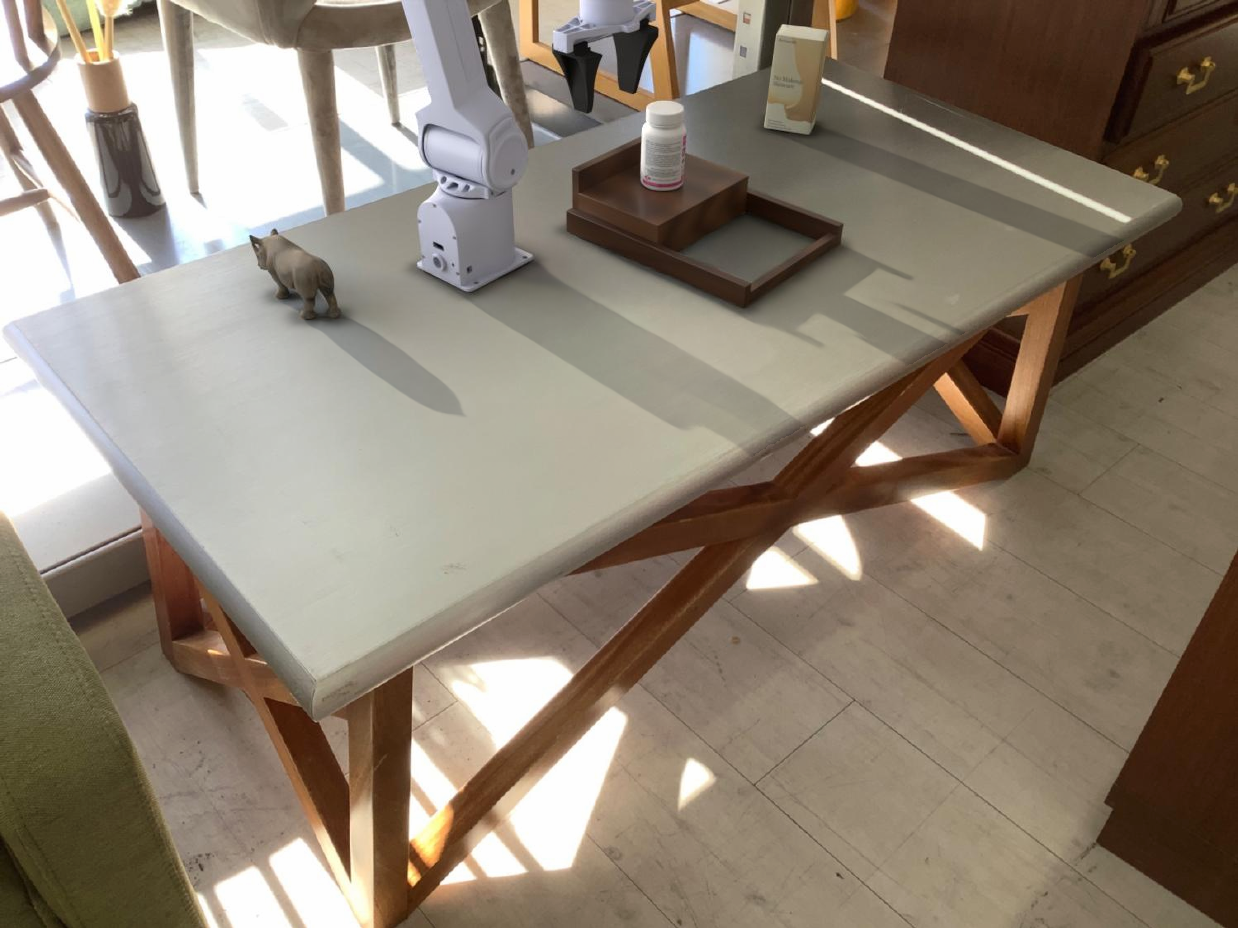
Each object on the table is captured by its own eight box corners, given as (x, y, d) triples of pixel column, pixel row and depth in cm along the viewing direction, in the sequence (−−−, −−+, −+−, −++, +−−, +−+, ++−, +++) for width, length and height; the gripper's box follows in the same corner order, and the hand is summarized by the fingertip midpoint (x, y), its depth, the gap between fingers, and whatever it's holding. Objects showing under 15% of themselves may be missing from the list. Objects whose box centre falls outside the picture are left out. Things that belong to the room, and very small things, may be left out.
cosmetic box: (763, 129, 144) (773, 33, 136) (769, 117, 147) (779, 23, 139) (812, 136, 142) (825, 40, 135) (817, 123, 146) (830, 28, 138)
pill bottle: (690, 188, 120) (695, 113, 115) (650, 195, 119) (653, 119, 113) (673, 170, 123) (676, 96, 118) (633, 176, 122) (635, 102, 117)
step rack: (743, 308, 110) (750, 245, 105) (566, 231, 122) (565, 171, 117) (840, 244, 120) (850, 184, 116) (668, 178, 132) (671, 122, 128)
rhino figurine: (277, 261, 115) (267, 209, 112) (350, 314, 108) (341, 259, 104) (242, 275, 113) (229, 221, 109) (313, 329, 106) (302, 274, 102)
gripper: (588, -4, 108) (589, 130, 117) (680, -34, 117) (674, 92, 126) (537, -19, 112) (540, 112, 121) (629, -48, 120) (627, 76, 129)
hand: (605, 101), depth 123 cm, fingers open, 7 cm apart
